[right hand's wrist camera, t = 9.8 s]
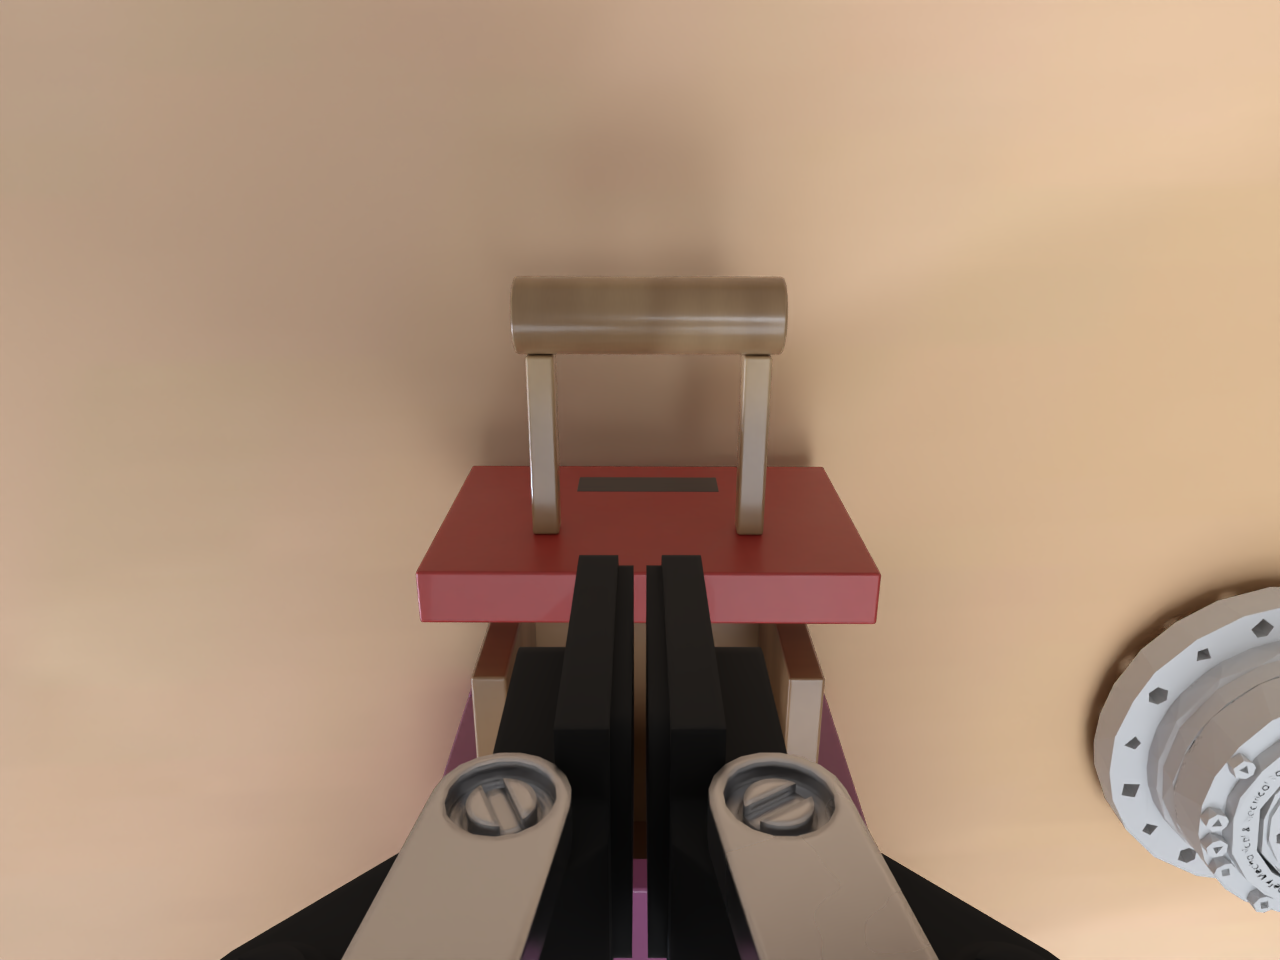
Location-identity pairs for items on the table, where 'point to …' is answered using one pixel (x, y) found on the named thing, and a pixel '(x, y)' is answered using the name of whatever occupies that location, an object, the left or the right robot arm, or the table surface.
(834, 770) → the cabinet
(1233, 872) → the mechanical component
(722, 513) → the drawer
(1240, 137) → the table surface
